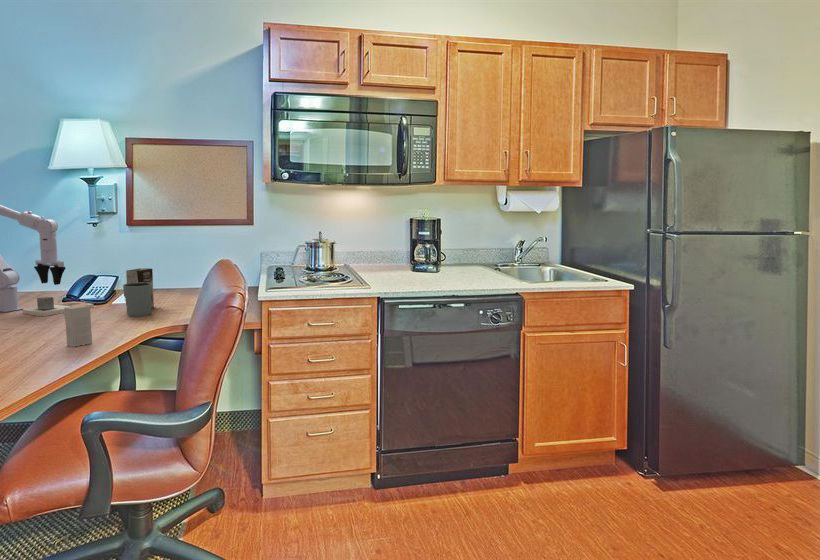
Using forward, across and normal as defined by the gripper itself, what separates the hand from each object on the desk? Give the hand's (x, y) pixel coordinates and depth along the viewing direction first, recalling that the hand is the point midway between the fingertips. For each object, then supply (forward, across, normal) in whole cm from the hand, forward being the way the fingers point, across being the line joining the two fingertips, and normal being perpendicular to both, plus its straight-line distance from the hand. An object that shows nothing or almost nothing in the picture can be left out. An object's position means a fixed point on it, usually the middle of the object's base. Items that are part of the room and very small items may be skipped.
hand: (50, 283), depth 259 cm
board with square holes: (+10, -4, 0) cm, 11 cm away
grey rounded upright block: (+11, -38, -9) cm, 40 cm away
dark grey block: (+10, -4, +6) cm, 13 cm away
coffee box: (+11, -28, -19) cm, 35 cm away
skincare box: (+11, -62, +35) cm, 72 cm away
